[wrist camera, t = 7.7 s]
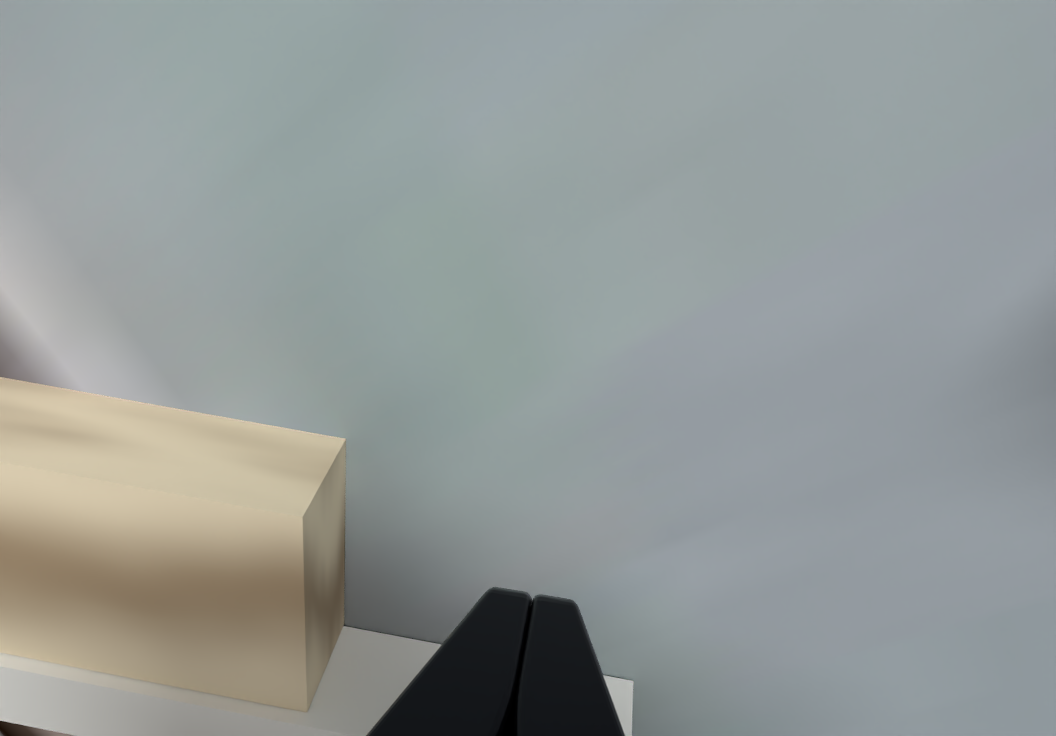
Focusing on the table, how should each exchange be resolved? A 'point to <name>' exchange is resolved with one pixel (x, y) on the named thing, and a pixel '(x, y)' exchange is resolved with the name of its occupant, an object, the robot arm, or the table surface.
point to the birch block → (169, 544)
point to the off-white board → (222, 722)
